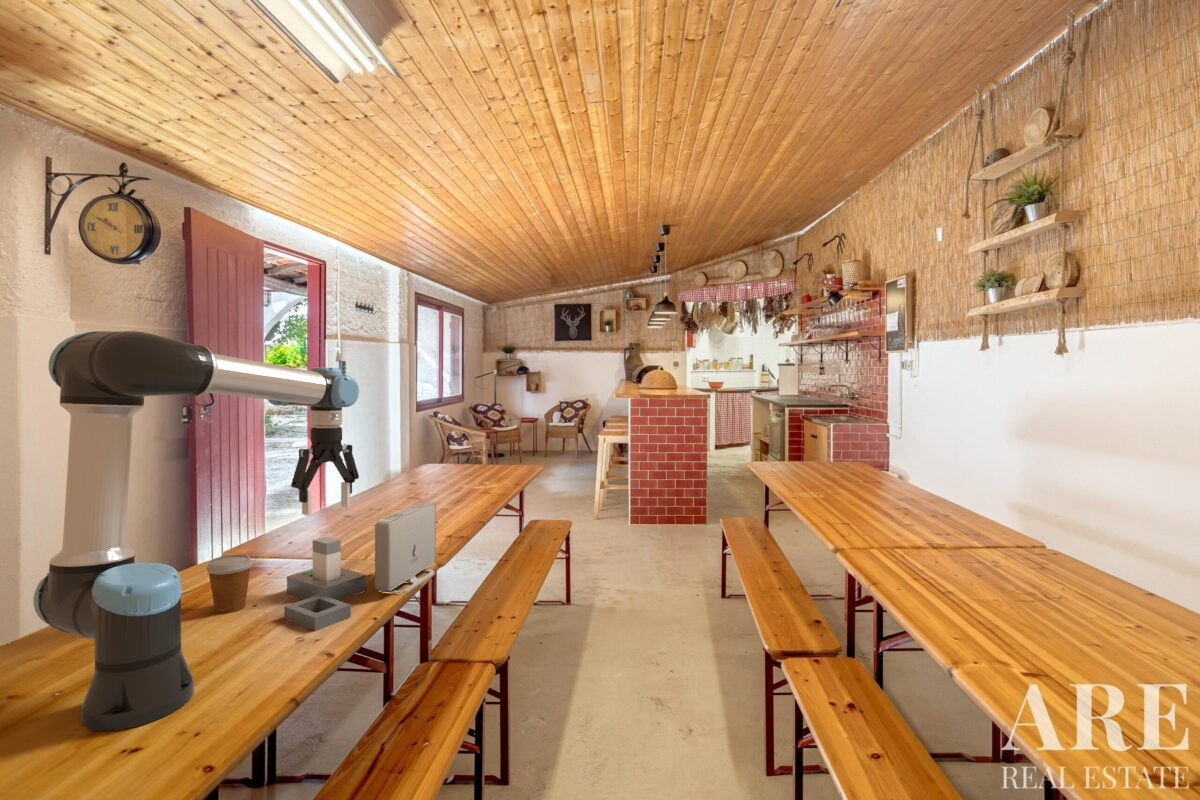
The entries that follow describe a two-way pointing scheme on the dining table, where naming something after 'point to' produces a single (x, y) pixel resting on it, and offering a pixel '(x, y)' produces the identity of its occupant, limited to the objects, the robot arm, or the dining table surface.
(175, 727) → the dining table surface
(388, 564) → the network device
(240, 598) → the disposable coffee cup
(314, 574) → the plug
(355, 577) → the port block
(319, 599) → the holder
